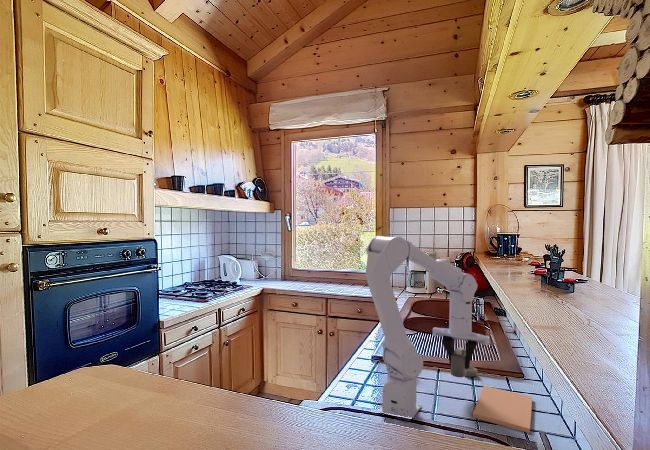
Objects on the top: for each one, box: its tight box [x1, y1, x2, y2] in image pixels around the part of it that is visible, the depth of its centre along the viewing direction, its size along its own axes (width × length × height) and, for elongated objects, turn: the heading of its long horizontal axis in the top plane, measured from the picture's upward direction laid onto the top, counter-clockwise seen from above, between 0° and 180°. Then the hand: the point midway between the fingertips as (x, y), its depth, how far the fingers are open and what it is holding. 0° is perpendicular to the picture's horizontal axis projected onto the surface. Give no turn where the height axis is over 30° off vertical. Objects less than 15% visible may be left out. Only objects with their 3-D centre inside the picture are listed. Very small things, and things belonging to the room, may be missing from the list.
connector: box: [450, 346, 468, 378], centre depth 96 cm, size 8×3×6 cm, turn 148°
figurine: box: [464, 366, 479, 378], centre depth 111 cm, size 5×4×6 cm
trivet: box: [472, 385, 533, 434], centre depth 90 cm, size 18×12×1 cm, turn 148°
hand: (459, 366), depth 96 cm, fingers closed on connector, 3 cm apart
